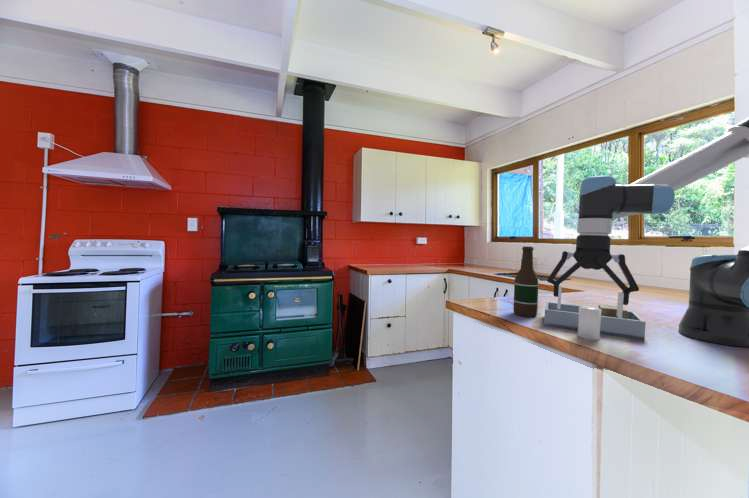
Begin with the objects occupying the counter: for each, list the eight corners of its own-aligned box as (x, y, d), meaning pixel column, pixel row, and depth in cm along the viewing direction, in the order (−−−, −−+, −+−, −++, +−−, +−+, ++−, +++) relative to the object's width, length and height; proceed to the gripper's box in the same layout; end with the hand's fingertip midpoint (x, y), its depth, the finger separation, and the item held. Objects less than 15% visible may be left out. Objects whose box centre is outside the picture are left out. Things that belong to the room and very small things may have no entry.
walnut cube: (622, 326, 92) (623, 306, 91) (626, 331, 87) (627, 310, 86) (597, 323, 95) (598, 304, 94) (600, 327, 90) (601, 307, 89)
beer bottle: (540, 318, 102) (543, 247, 102) (516, 316, 104) (518, 246, 103) (533, 312, 110) (536, 246, 109) (510, 311, 112) (513, 246, 111)
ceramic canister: (598, 336, 84) (600, 307, 84) (600, 341, 80) (602, 311, 80) (577, 333, 87) (578, 305, 86) (578, 337, 82) (579, 308, 82)
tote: (633, 327, 93) (634, 311, 93) (644, 340, 82) (645, 321, 81) (545, 316, 105) (546, 301, 105) (544, 325, 94) (544, 309, 94)
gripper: (650, 237, 79) (643, 317, 80) (541, 233, 92) (536, 303, 93) (659, 236, 73) (651, 323, 74) (540, 233, 85) (535, 307, 86)
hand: (587, 312), depth 83 cm, fingers open, 13 cm apart
